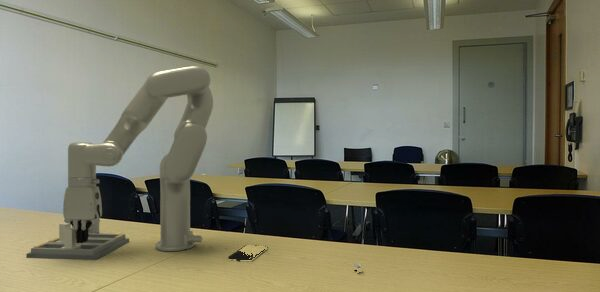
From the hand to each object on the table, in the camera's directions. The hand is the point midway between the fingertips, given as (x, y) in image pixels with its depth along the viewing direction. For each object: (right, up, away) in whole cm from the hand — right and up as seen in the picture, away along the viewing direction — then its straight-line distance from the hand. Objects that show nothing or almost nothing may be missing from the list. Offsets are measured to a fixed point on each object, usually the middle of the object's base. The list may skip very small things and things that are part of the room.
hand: (82, 241), depth 124 cm
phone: (+51, -5, +4) cm, 51 cm away
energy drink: (-10, -4, +24) cm, 27 cm away
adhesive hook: (+85, -6, -12) cm, 86 cm away
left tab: (-4, -3, 0) cm, 5 cm away
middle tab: (-9, -3, +7) cm, 12 cm away
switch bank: (-4, -4, +7) cm, 9 cm away
